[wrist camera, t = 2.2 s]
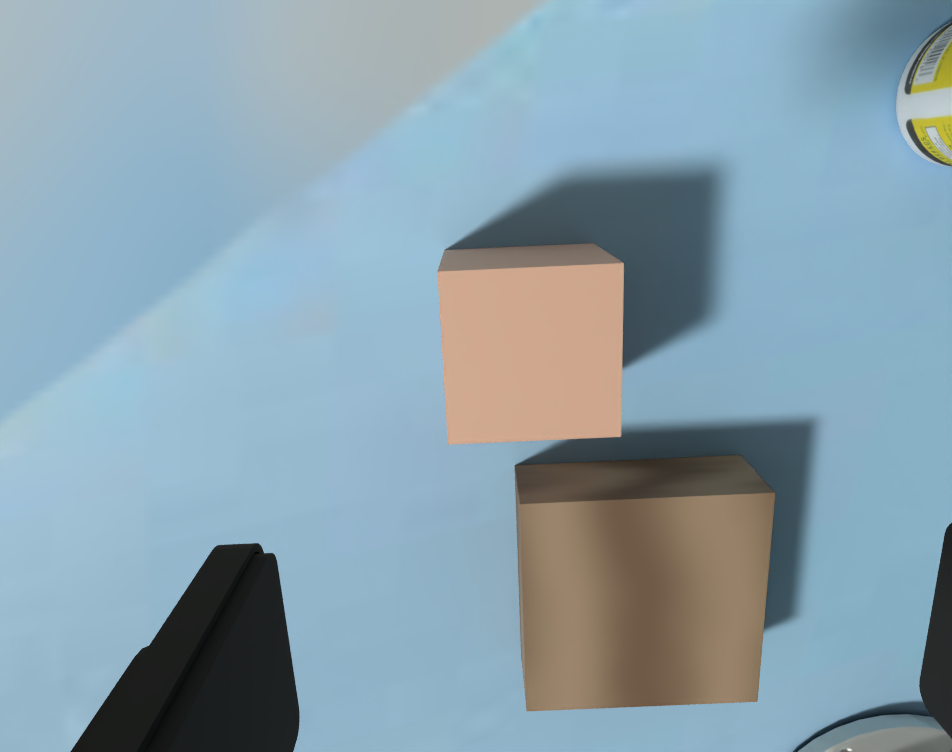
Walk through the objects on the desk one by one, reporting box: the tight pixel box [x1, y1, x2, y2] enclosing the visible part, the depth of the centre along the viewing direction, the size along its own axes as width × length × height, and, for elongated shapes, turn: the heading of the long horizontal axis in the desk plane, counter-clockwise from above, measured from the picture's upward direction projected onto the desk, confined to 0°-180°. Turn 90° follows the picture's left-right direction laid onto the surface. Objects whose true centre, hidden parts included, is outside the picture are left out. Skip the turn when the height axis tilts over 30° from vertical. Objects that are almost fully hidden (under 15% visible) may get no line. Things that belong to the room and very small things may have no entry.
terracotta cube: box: [438, 243, 624, 444], centre depth 26 cm, size 6×6×6 cm
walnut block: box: [515, 455, 775, 711], centre depth 31 cm, size 10×10×4 cm
